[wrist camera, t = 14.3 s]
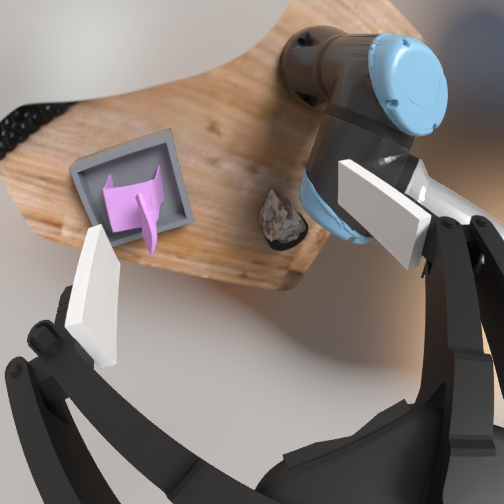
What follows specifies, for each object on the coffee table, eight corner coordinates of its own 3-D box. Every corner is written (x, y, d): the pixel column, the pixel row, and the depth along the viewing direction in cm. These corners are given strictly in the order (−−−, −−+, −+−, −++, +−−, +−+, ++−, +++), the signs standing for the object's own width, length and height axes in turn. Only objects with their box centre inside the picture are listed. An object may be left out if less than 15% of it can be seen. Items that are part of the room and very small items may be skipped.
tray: (170, 128, 41) (171, 133, 38) (191, 210, 51) (194, 222, 48) (75, 160, 39) (69, 169, 36) (106, 237, 48) (103, 250, 45)
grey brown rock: (287, 234, 63) (245, 234, 58) (311, 192, 56) (268, 187, 51) (301, 258, 60) (258, 260, 54) (329, 216, 52) (285, 212, 47)
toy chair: (104, 168, 41) (86, 213, 29) (159, 159, 43) (161, 199, 31) (114, 215, 46) (104, 271, 34) (165, 206, 48) (171, 260, 36)
